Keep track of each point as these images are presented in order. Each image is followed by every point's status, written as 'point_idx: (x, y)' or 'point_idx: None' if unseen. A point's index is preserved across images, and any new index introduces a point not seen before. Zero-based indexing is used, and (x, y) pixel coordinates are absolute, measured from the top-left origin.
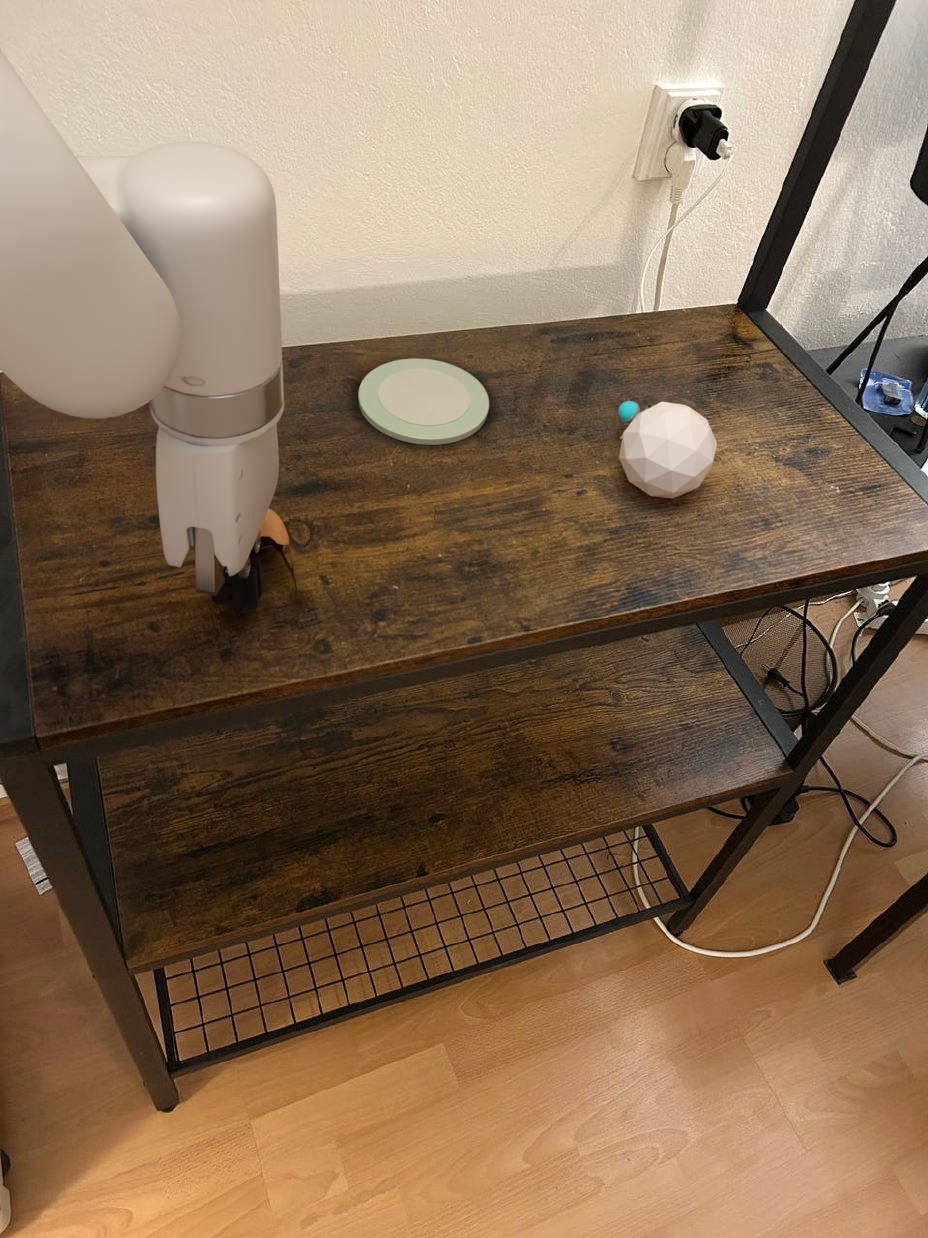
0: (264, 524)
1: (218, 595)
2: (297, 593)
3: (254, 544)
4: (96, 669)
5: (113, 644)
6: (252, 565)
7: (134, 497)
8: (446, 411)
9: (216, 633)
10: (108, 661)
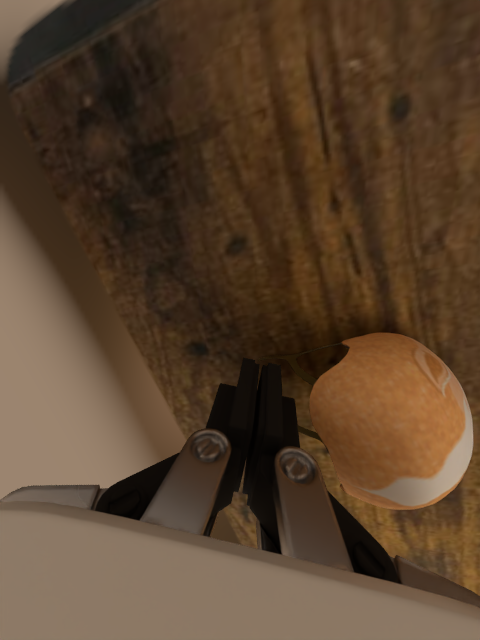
0: (372, 503)
1: (218, 392)
2: (298, 431)
3: (258, 542)
4: (139, 167)
5: (193, 184)
6: (243, 487)
7: None
8: None
9: (231, 334)
10: (158, 184)
